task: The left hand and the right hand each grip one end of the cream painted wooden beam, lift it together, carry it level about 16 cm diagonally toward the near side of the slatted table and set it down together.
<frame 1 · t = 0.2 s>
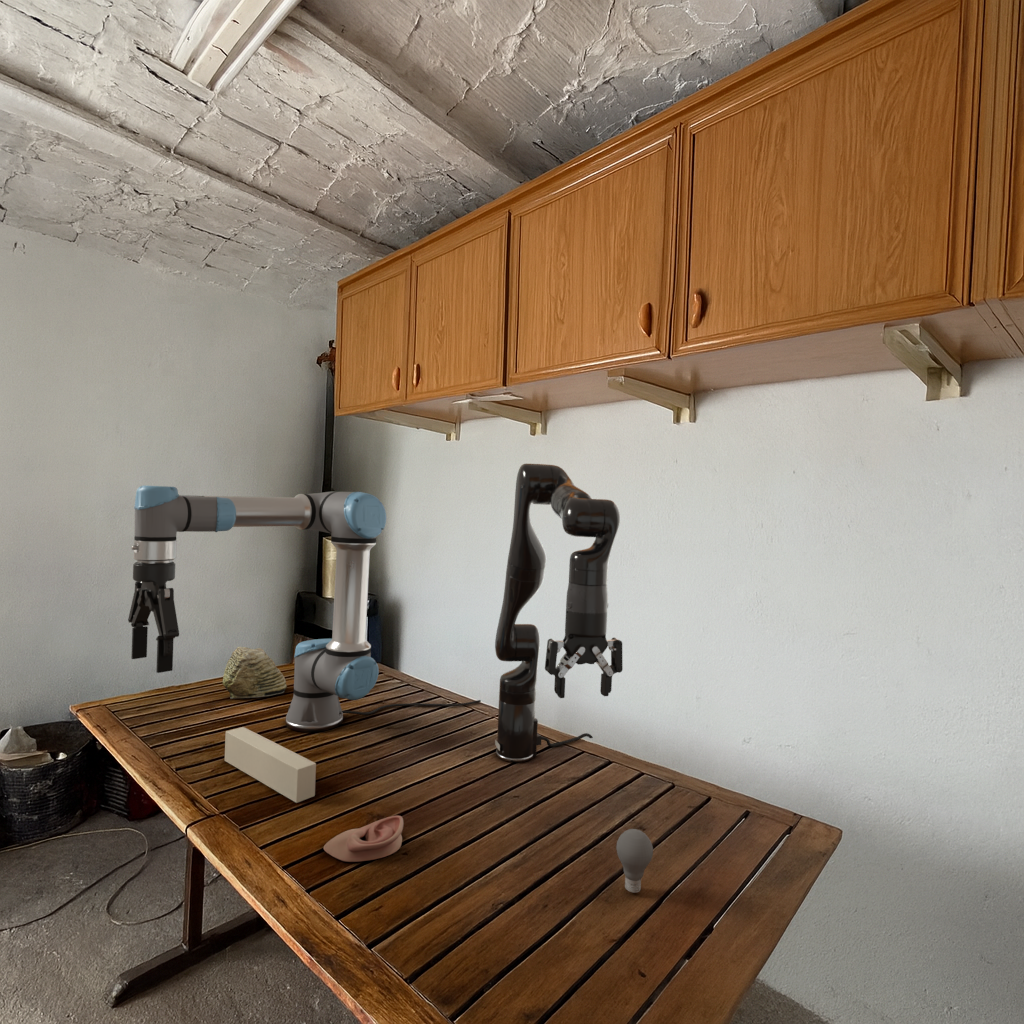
left hand: (151, 664, 130), 27 cm above the table, fingers open, 13 cm apart
right hand: (582, 696, 116), 29 cm above the table, fingers open, 8 cm apart
beam: (267, 777, 142), on the table
anatomical model: (363, 846, 116), on the table
fossil: (254, 694, 198), on the table
light bulb: (632, 891, 106), on the table
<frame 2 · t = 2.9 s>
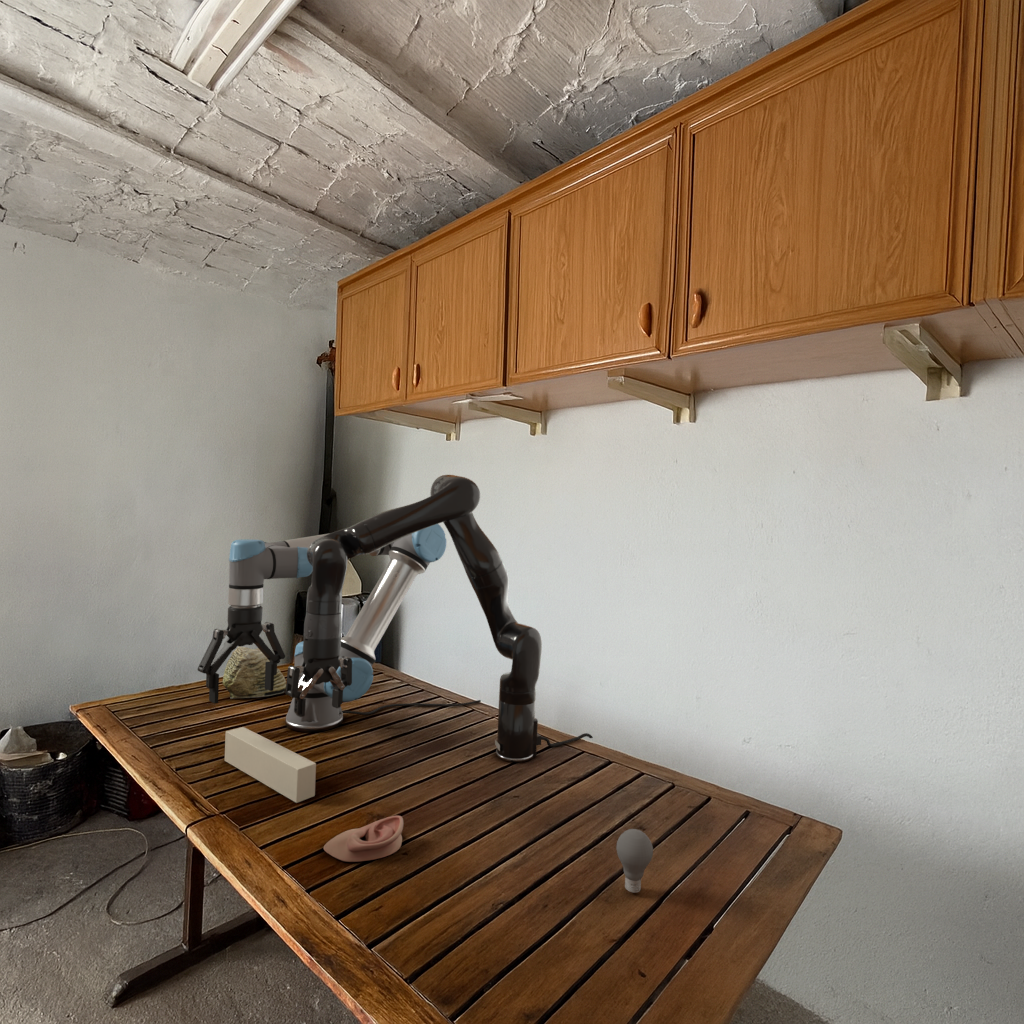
left hand: (242, 695, 149), 16 cm above the table, fingers open, 13 cm apart
right hand: (318, 711, 132), 19 cm above the table, fingers open, 8 cm apart
nothing on the table moved.
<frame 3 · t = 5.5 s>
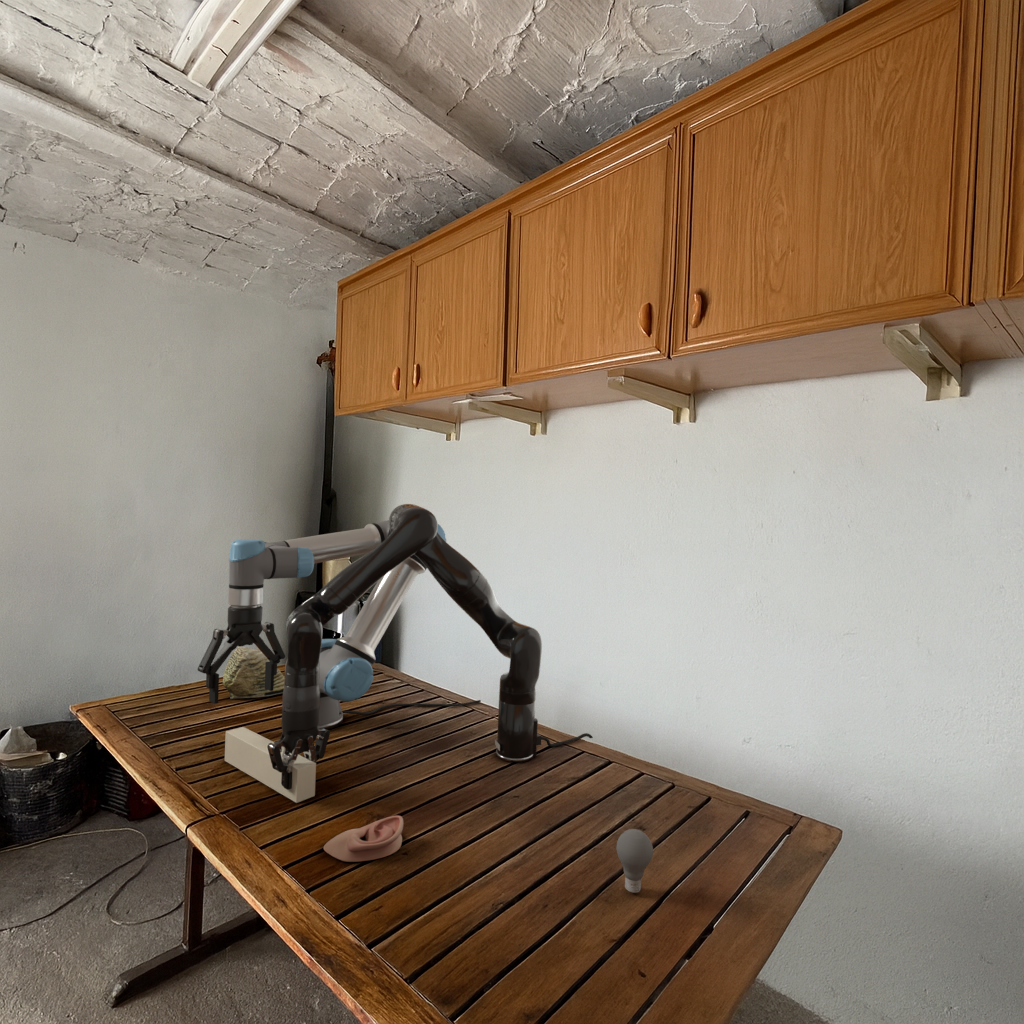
left hand: (242, 695, 149), 16 cm above the table, fingers open, 13 cm apart
right hand: (298, 784, 134), 2 cm above the table, fingers closed on beam, 4 cm apart
beam: (267, 777, 142), on the table, touching right hand
everything else where it was.
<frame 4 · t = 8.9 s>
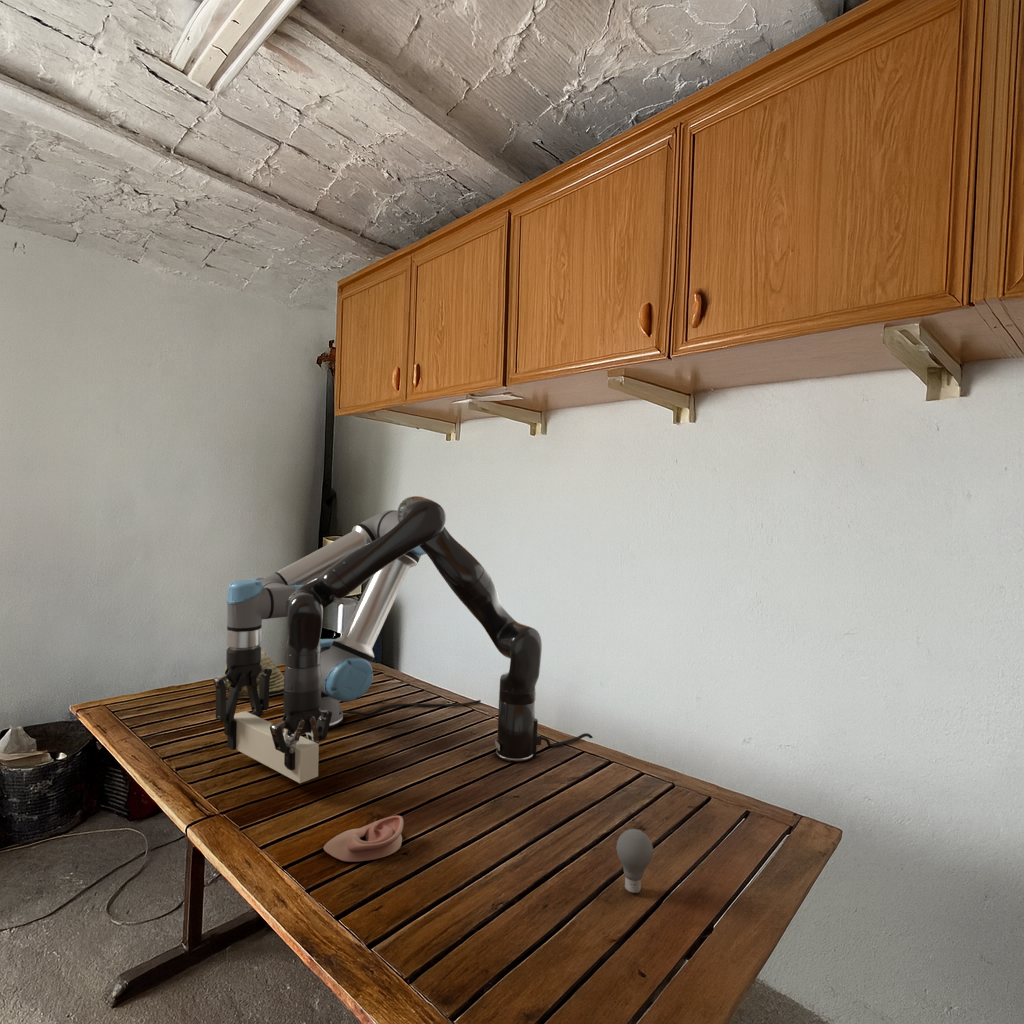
left hand: (242, 744, 149), 4 cm above the table, fingers closed on beam, 4 cm apart
right hand: (301, 764, 134), 6 cm above the table, fingers closed on beam, 4 cm apart
beam: (270, 759, 142), point 4 cm above the table, touching left hand, right hand
everything else where it was.
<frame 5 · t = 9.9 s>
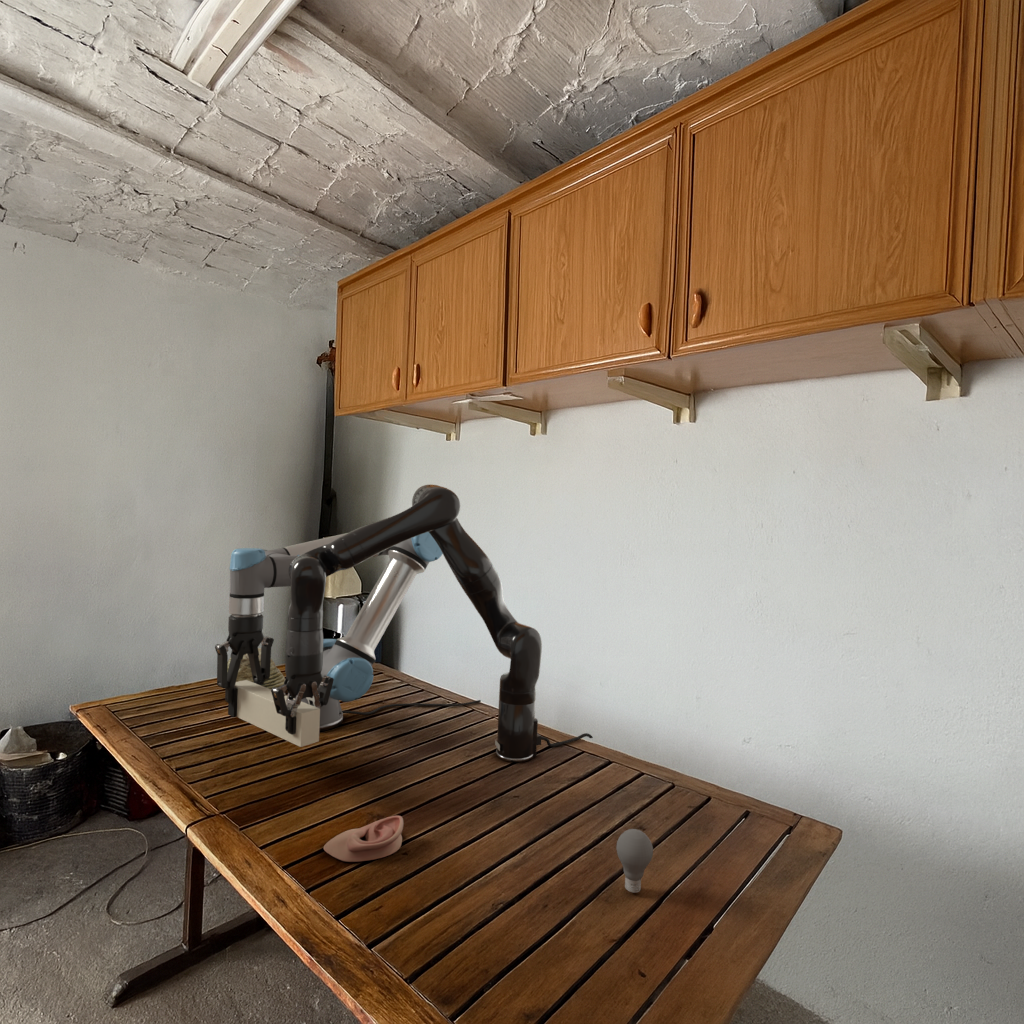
left hand: (243, 712, 149), 12 cm above the table, fingers closed on beam, 4 cm apart
right hand: (302, 729, 134), 14 cm above the table, fingers closed on beam, 4 cm apart
beam: (271, 726, 141), point 12 cm above the table, touching left hand, right hand
everything else where it was.
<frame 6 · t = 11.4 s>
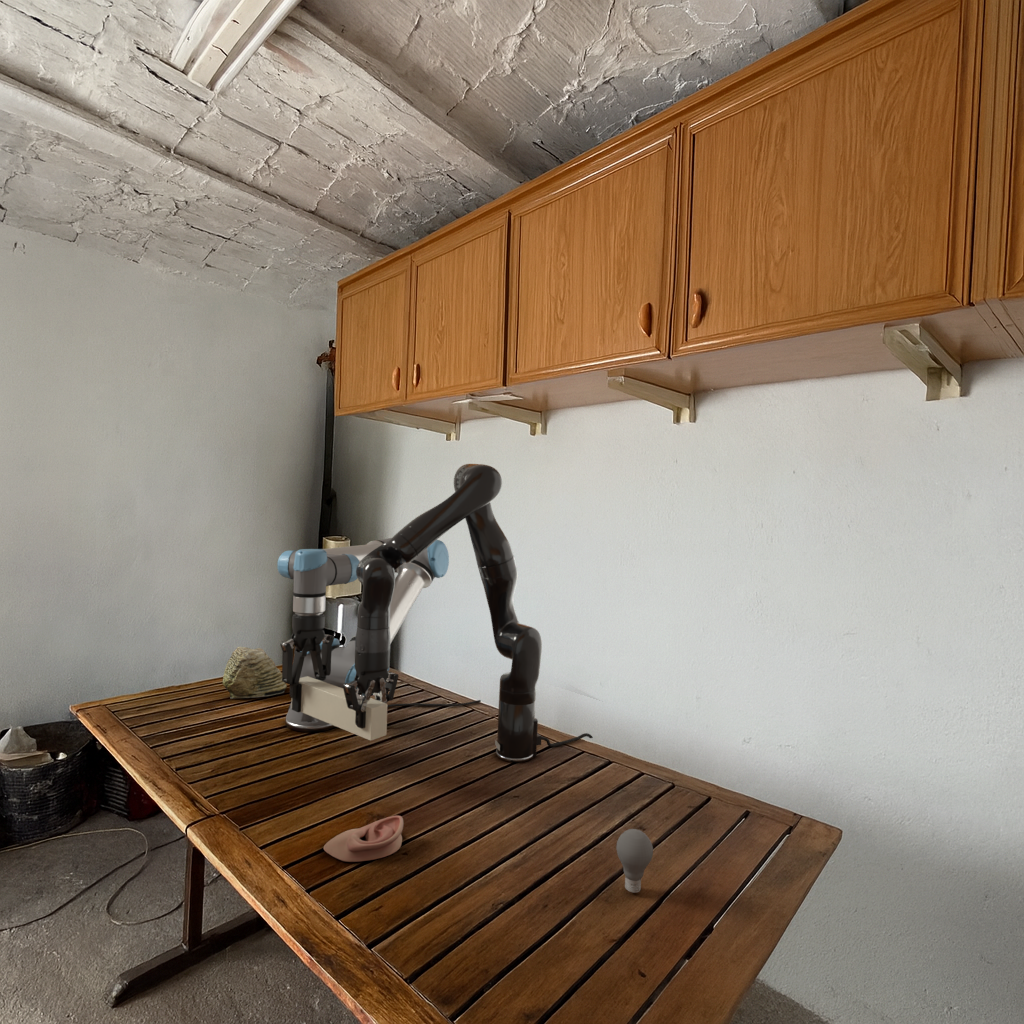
left hand: (305, 707, 154), 12 cm above the table, fingers closed on beam, 4 cm apart
right hand: (370, 724, 139), 14 cm above the table, fingers closed on beam, 4 cm apart
beam: (336, 721, 147), point 11 cm above the table, touching left hand, right hand
everything else where it was.
when the left hand's fingers open (1 cm above the table, at t = 14.1 s): beam stays where it is, on the table.
when the right hand's fingers open (3 cm above the table, at t = 14.2 s): beam stays where it is, on the table.
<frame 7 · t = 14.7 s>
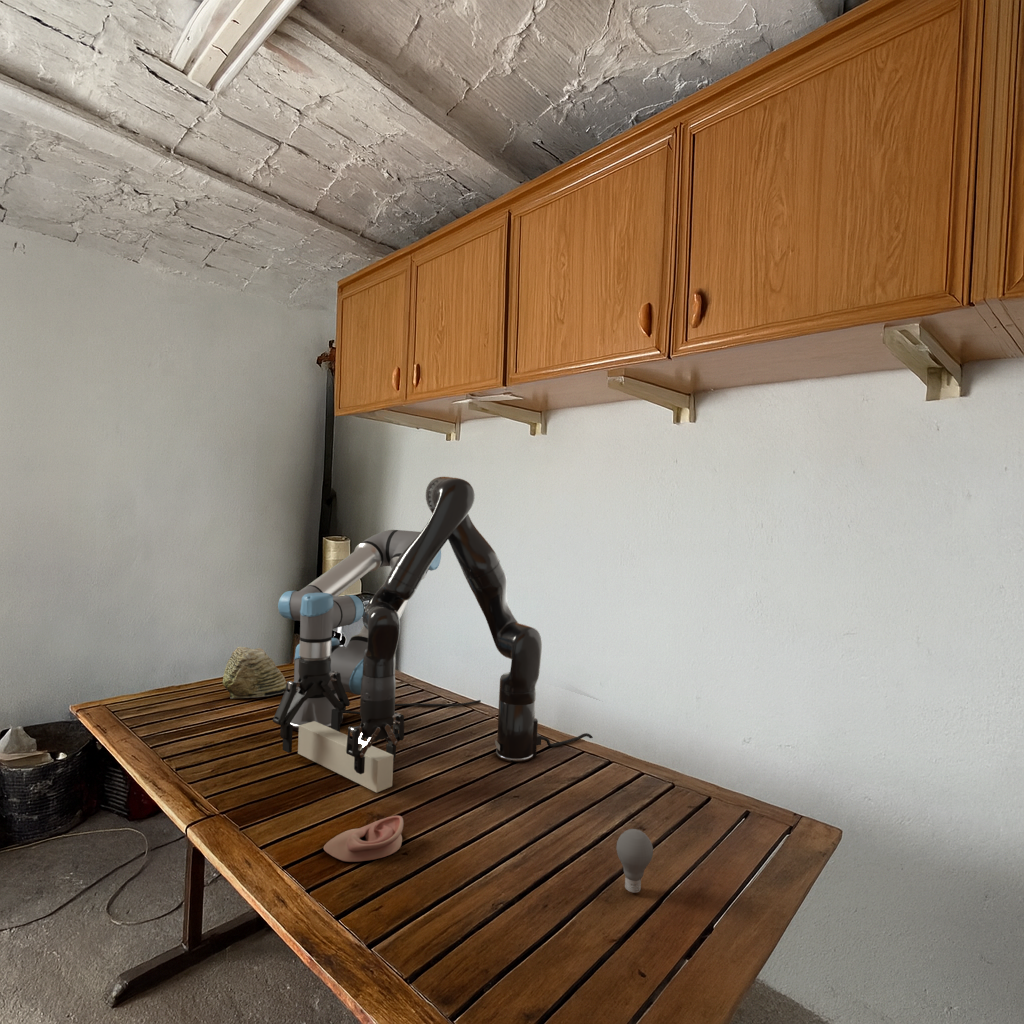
left hand: (311, 743, 155), 3 cm above the table, fingers open, 13 cm apart
right hand: (375, 766, 140), 4 cm above the table, fingers open, 8 cm apart
beam: (342, 769, 148), on the table
everything else where it was.
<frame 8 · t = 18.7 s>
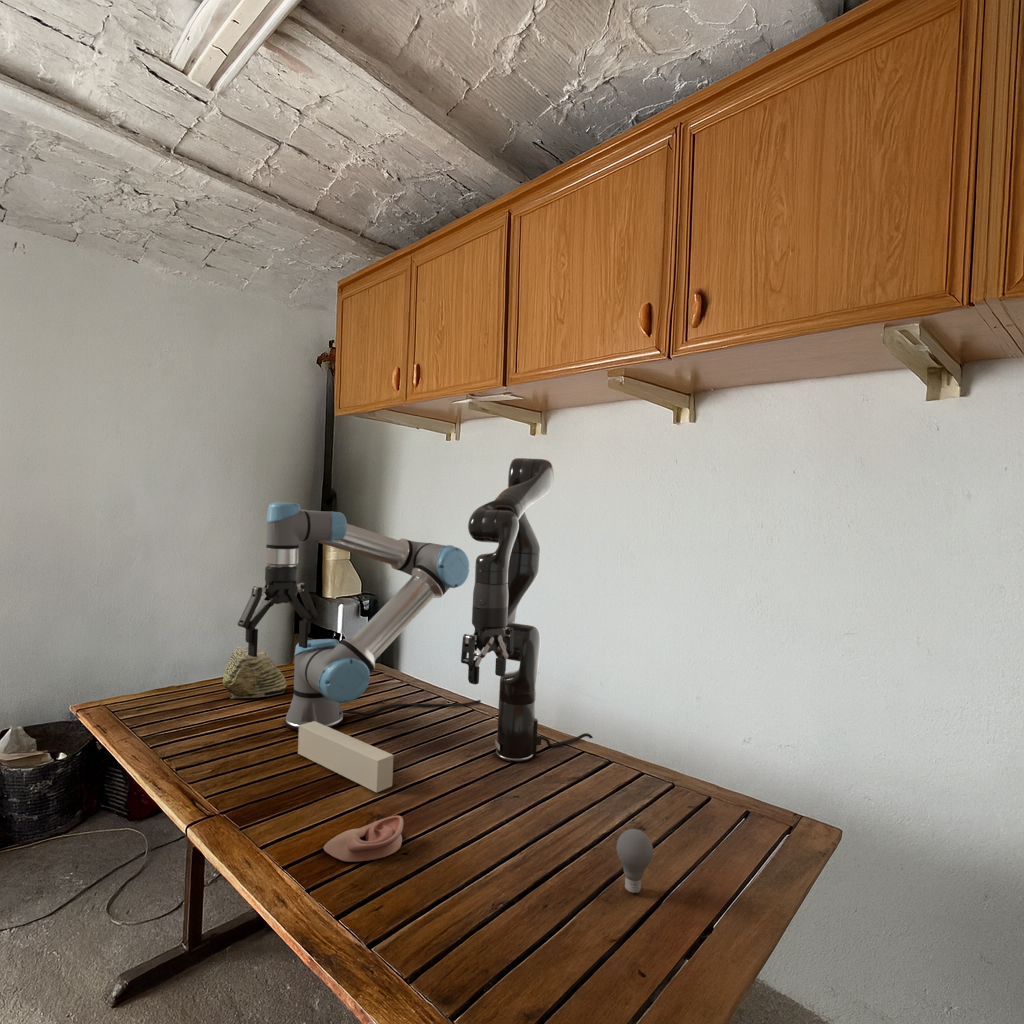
left hand: (278, 651, 156), 25 cm above the table, fingers open, 13 cm apart
right hand: (487, 679, 134), 26 cm above the table, fingers open, 8 cm apart
nothing on the table moved.
at the end: beam inside the target area (0.3 cm from its centre), on the table; both hands held the beam at the same time; beam never tilted more than 2° during the clip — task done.
